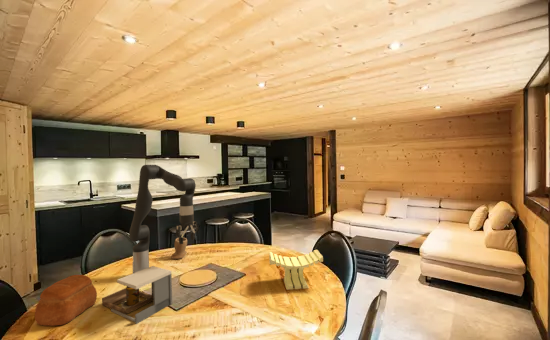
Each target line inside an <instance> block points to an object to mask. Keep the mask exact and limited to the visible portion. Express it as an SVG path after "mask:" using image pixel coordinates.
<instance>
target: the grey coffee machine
mask: <svg viewBox="0 0 550 340" xmlns="http://www.w3.org/2000/svg"><path fill="white" fill-rule="evenodd" d="M172 282H173V281H172V270H170V269H166V268H162V267H158V266H154V265H151V266H149V268H146V269H143V270H141V271H138V272H136V273H133V272H132V273H131V274H128V275H126V276H123V277H121V278H118V279H116V283H117V284H120V285H123V286H126V287H127V286H128V287H131V288H134V289H139V290H140V288H143V287H145V286H147V285H150V284H151V295H153V297H154V300H153V304H152V305H151V306H148V307H146V308H145V309H143V310H142V311H139V312H137V313H136V314H134V317H132V316H130V315H128V314H123V313H121V312H119V311H117V310H114V309H111V308H110V312H111V313H114V314H115V315H118V316H121V317H123V318H125V319H127V320H129V321H132V322H134V323H135V325H138V324H139V323H141V322H143V321H145V320H146V319H148V318H149V317H151V316H153V315H155V314H156V313H158V312H160V311H161V310H164V309H166V308H167V307H169V306H171V305H173V285H172Z"/></svg>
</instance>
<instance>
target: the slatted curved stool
mask: <svg viewBox="0 0 550 340" xmlns="http://www.w3.org/2000/svg"><path fill="white" fill-rule="evenodd" d="M268 255H269V261H268V262H269V265H275V266H276V267H279V266H280V267H281V268H283V269H284V277H283V282H284V285H285V288H286V290H300V289H302V290H303V289H310V287H309V285H308V283H307V281H306V278H305V276H304V269H305V268H310V266H314V264H319V262H320V263H322V262H324V256H323V254H321V253H320V251H319V250H318V249H315V250H313V251H310V252H308V253H306V254H304V255H299V256H290V257H289V256H282V255H278V254H277V253H273V252H271V251H269V253H268Z"/></svg>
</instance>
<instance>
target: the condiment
mask: <svg viewBox="0 0 550 340" xmlns="http://www.w3.org/2000/svg"><path fill="white" fill-rule="evenodd" d="M125 288H126V301H124V302H122V303H120V305H121V307H122V308H124V309H127V308H129V307H131V306H133V305H135V304H137V303H139V302H141V300H140V296H139V291H140V288H139V289H134V288H131V287H128V286H126V287H125Z"/></svg>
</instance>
